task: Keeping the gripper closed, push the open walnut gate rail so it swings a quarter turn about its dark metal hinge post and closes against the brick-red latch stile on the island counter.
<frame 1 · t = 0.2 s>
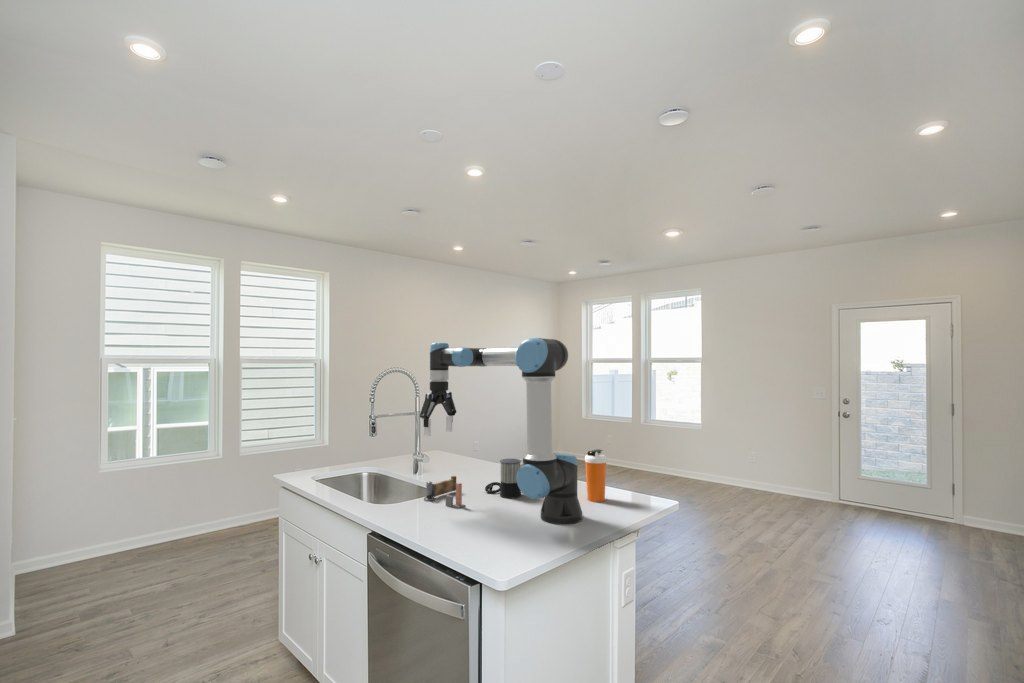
hand: (438, 433, 201), 28 cm above the counter, fingers open, 13 cm apart
hinge post: (429, 499, 204), on the counter
latch stile: (458, 506, 194), on the counter
shaker bottle: (596, 500, 204), on the counter
corded kitchen appliance: (502, 494, 213), on the counter
gate: (444, 486, 211), point 4 cm above the counter, hinge at 90.0°
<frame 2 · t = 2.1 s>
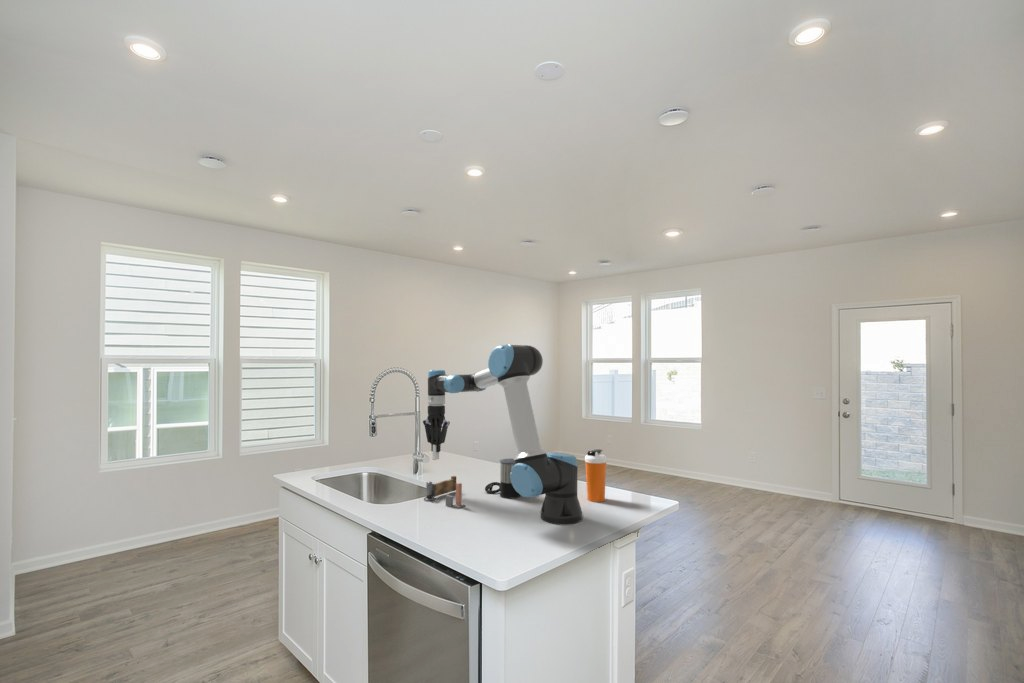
hand: (435, 459, 216), 14 cm above the counter, fingers closed
nothing on the counter moved.
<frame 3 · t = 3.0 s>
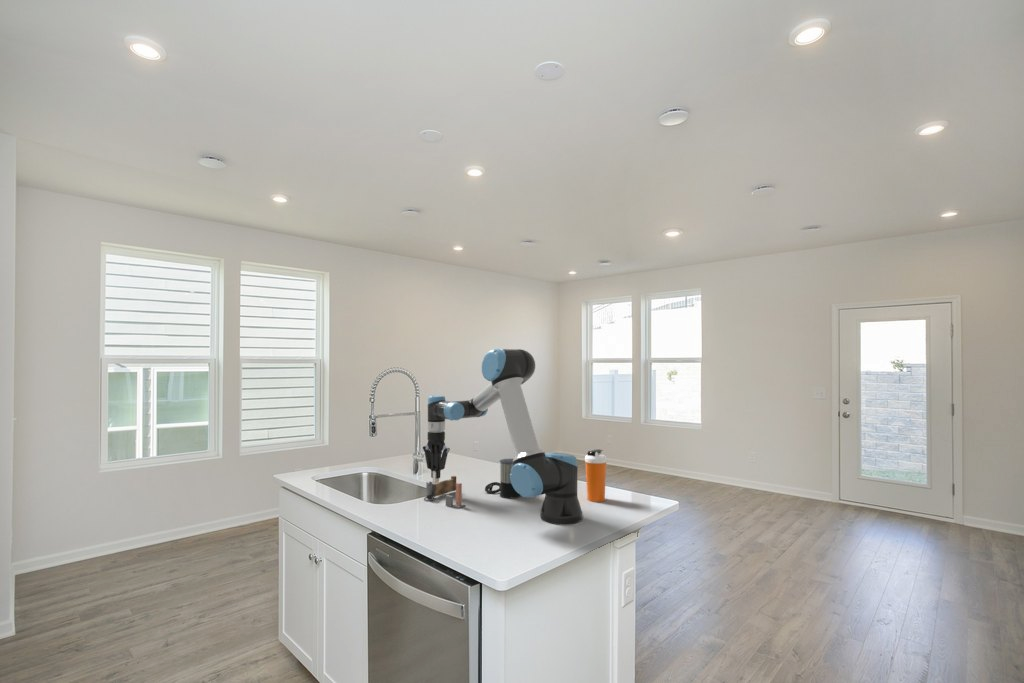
hand: (435, 485, 216), 3 cm above the counter, fingers closed
nothing on the counter moved.
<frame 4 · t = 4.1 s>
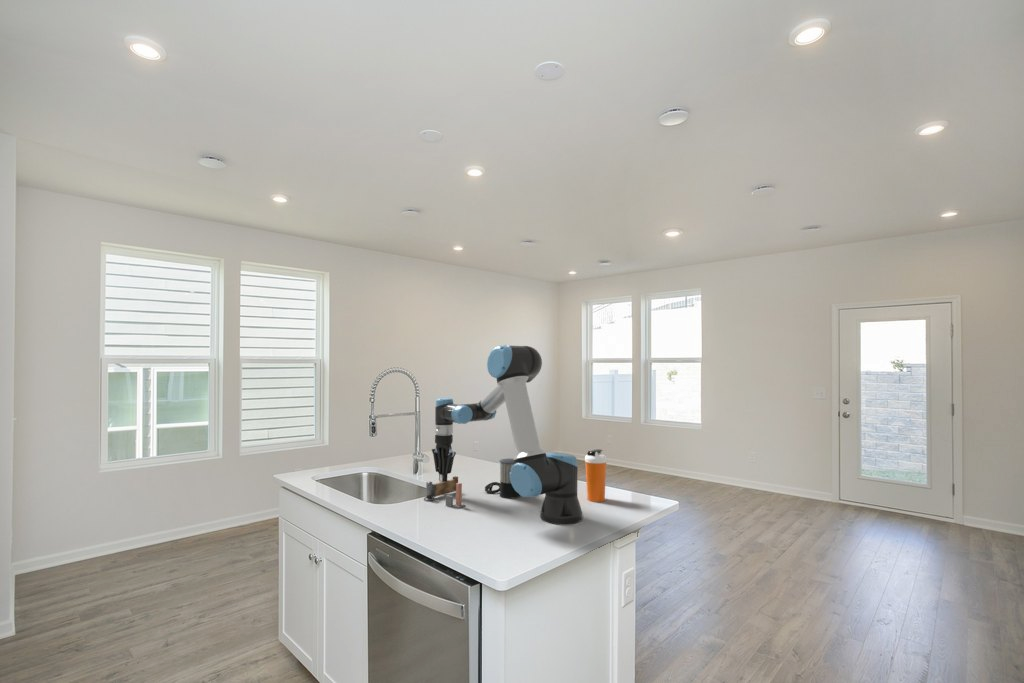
hand: (443, 489, 213), 2 cm above the counter, fingers closed
gate: (445, 486, 211), point 4 cm above the counter, hinge at 85.6°, touching gripper
everything else where it was.
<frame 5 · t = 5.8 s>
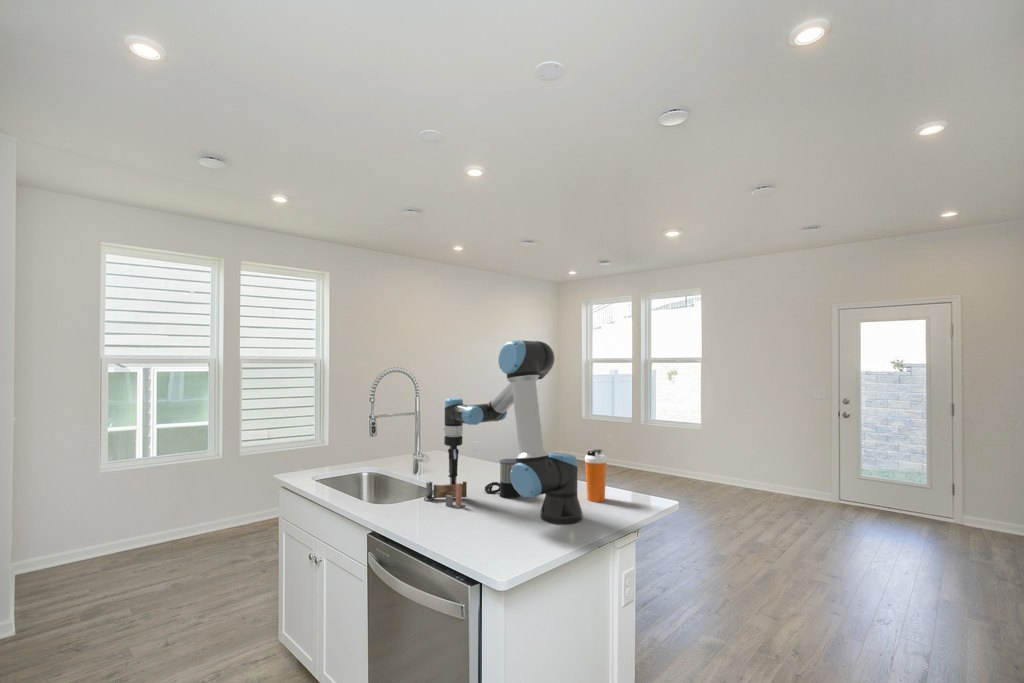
hand: (452, 491, 208), 2 cm above the counter, fingers closed
gate: (450, 489, 205), point 4 cm above the counter, hinge at 42.1°, touching gripper
everything else where it was.
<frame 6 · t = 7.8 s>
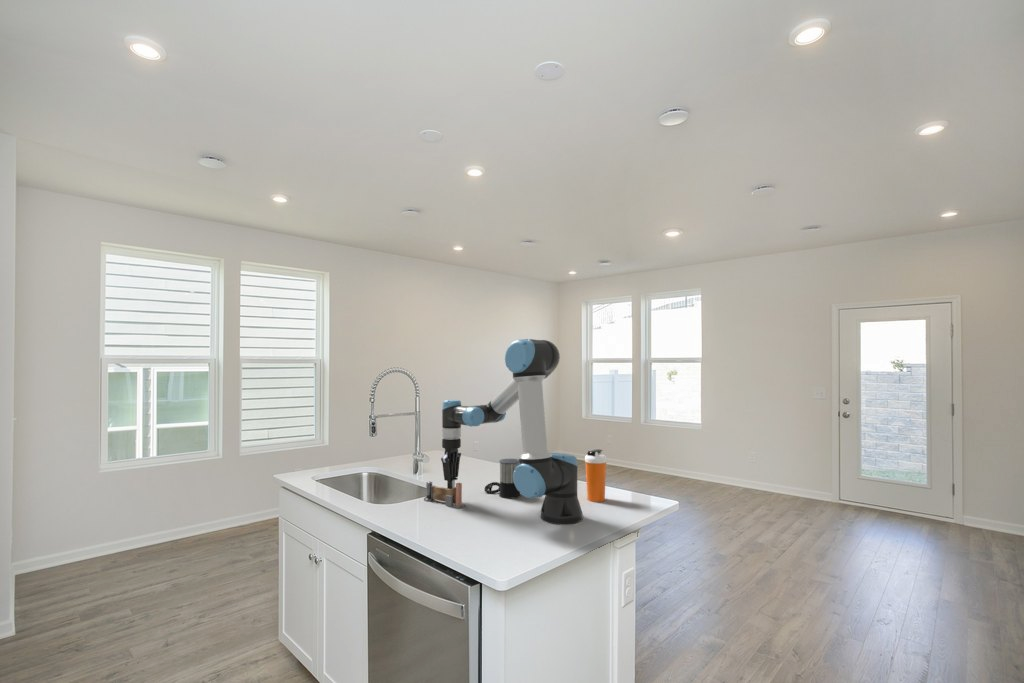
hand: (451, 496, 201), 2 cm above the counter, fingers closed
gate: (444, 493, 199), point 4 cm above the counter, hinge at 2.2°
everything else where it was.
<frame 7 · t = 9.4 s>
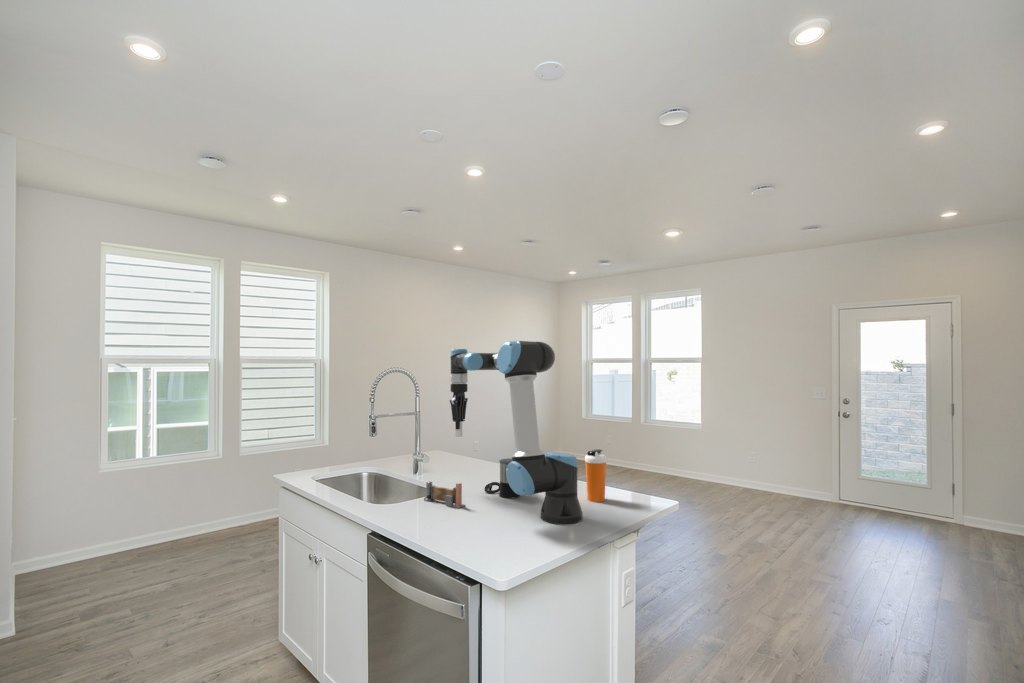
hand: (458, 436, 221), 23 cm above the counter, fingers closed
nothing on the counter moved.
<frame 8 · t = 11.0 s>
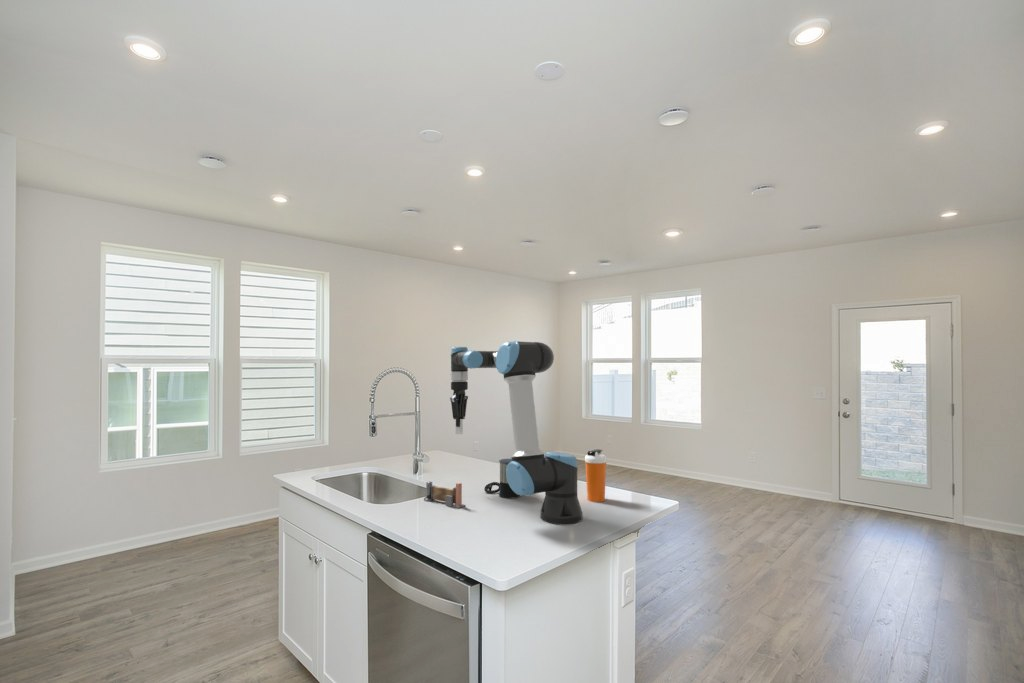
hand: (459, 433, 222), 24 cm above the counter, fingers closed
nothing on the counter moved.
at the end: gate at +2° (first picture: +90°) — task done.
